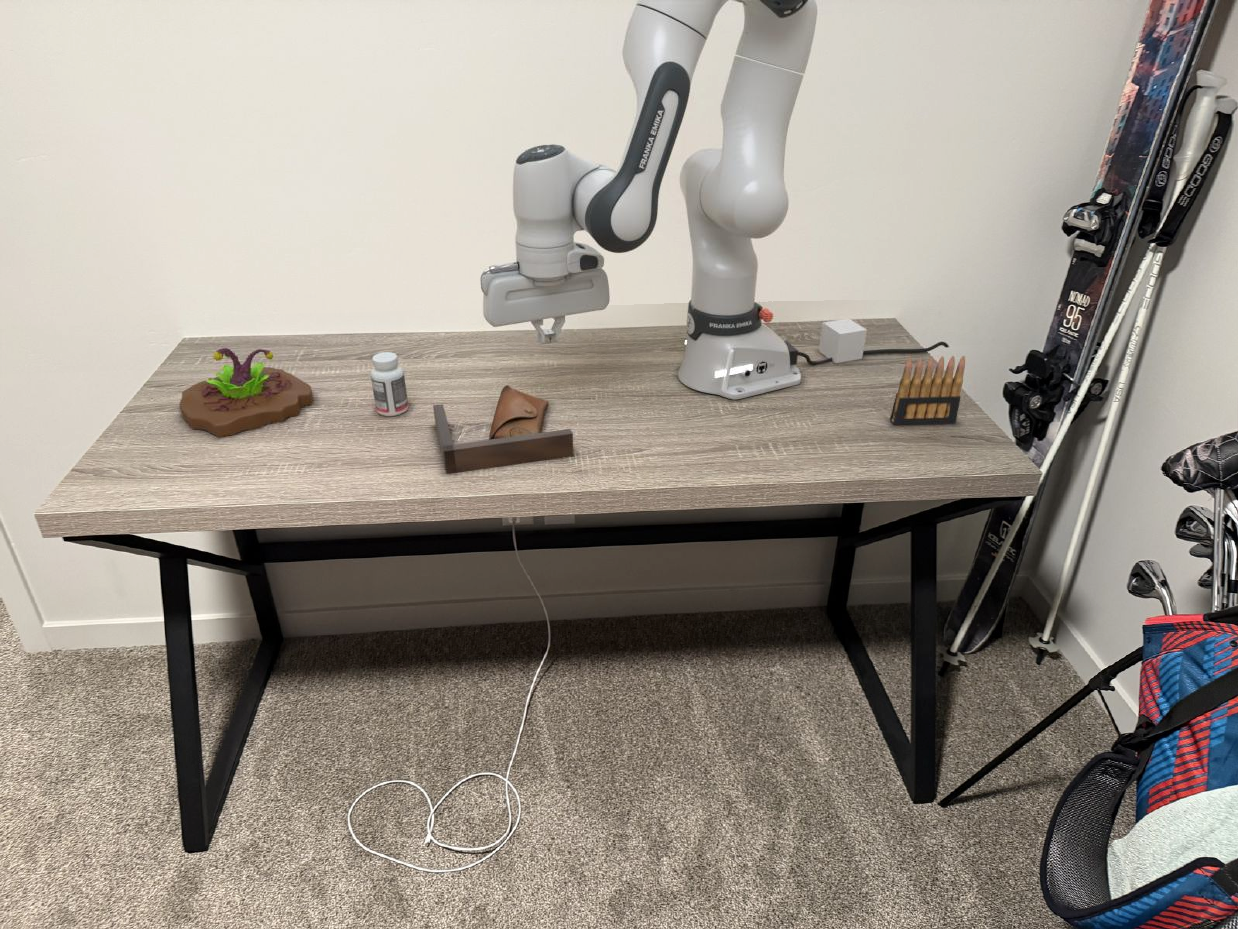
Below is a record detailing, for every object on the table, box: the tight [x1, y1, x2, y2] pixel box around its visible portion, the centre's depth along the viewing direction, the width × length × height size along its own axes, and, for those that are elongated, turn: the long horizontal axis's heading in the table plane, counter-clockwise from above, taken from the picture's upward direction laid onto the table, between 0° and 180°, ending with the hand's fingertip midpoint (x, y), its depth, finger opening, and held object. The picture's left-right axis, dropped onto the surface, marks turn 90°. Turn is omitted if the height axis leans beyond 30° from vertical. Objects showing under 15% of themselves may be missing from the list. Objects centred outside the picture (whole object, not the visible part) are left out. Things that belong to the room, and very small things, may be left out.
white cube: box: [818, 318, 868, 364], centre depth 164 cm, size 6×6×6 cm
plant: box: [179, 347, 314, 438], centre depth 143 cm, size 20×20×11 cm
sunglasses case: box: [488, 384, 550, 440], centre depth 139 cm, size 18×7×7 cm
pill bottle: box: [370, 351, 409, 417], centre depth 142 cm, size 5×5×10 cm
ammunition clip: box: [889, 355, 966, 427], centre depth 140 cm, size 11×2×12 cm, turn 94°
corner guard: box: [432, 404, 574, 475], centre depth 135 cm, size 20×15×4 cm
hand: (548, 342), depth 138 cm, fingers closed
